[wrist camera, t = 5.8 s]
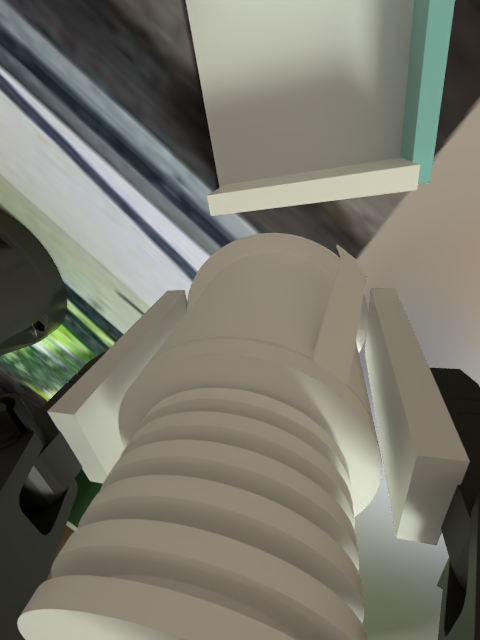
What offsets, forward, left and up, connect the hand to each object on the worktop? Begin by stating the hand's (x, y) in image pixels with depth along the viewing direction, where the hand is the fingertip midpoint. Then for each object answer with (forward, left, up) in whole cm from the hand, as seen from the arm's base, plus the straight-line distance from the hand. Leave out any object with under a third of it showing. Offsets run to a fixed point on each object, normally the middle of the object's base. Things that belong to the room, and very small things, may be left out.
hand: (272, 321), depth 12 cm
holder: (+1, +9, -14) cm, 17 cm away
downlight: (0, 0, 0) cm, 0 cm away
